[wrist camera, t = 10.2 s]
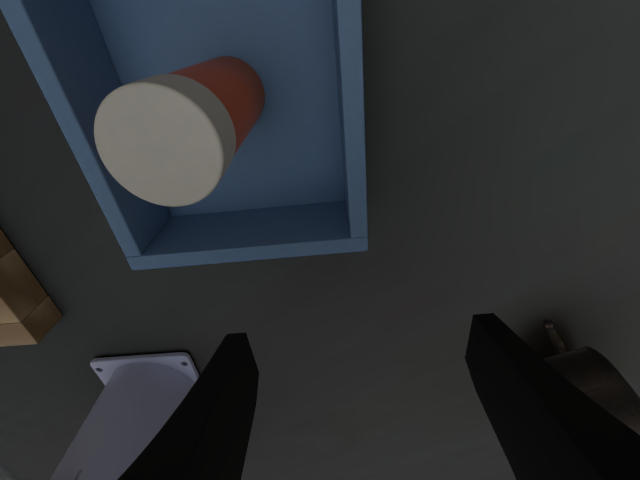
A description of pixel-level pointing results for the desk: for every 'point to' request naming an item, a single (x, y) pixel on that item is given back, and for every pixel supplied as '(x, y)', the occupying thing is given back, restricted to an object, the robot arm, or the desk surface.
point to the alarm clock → (596, 379)
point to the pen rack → (22, 301)
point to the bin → (261, 142)
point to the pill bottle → (178, 129)
